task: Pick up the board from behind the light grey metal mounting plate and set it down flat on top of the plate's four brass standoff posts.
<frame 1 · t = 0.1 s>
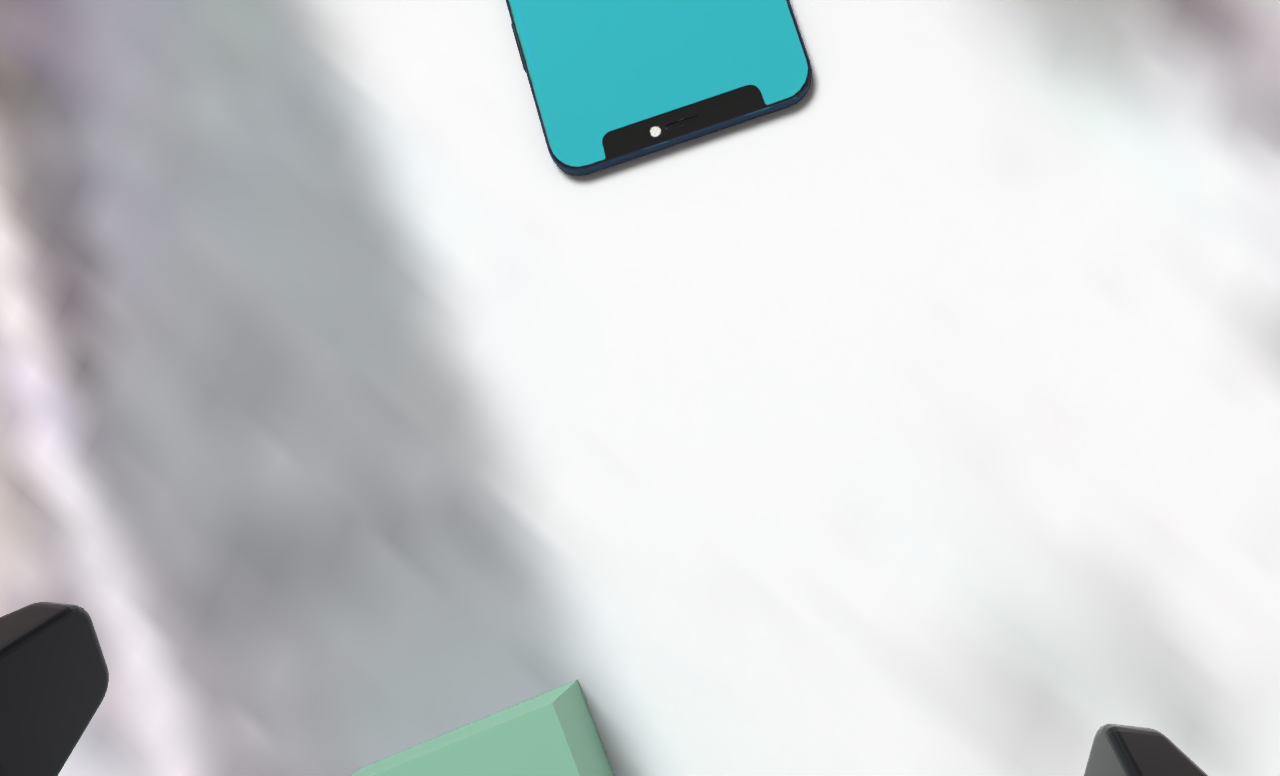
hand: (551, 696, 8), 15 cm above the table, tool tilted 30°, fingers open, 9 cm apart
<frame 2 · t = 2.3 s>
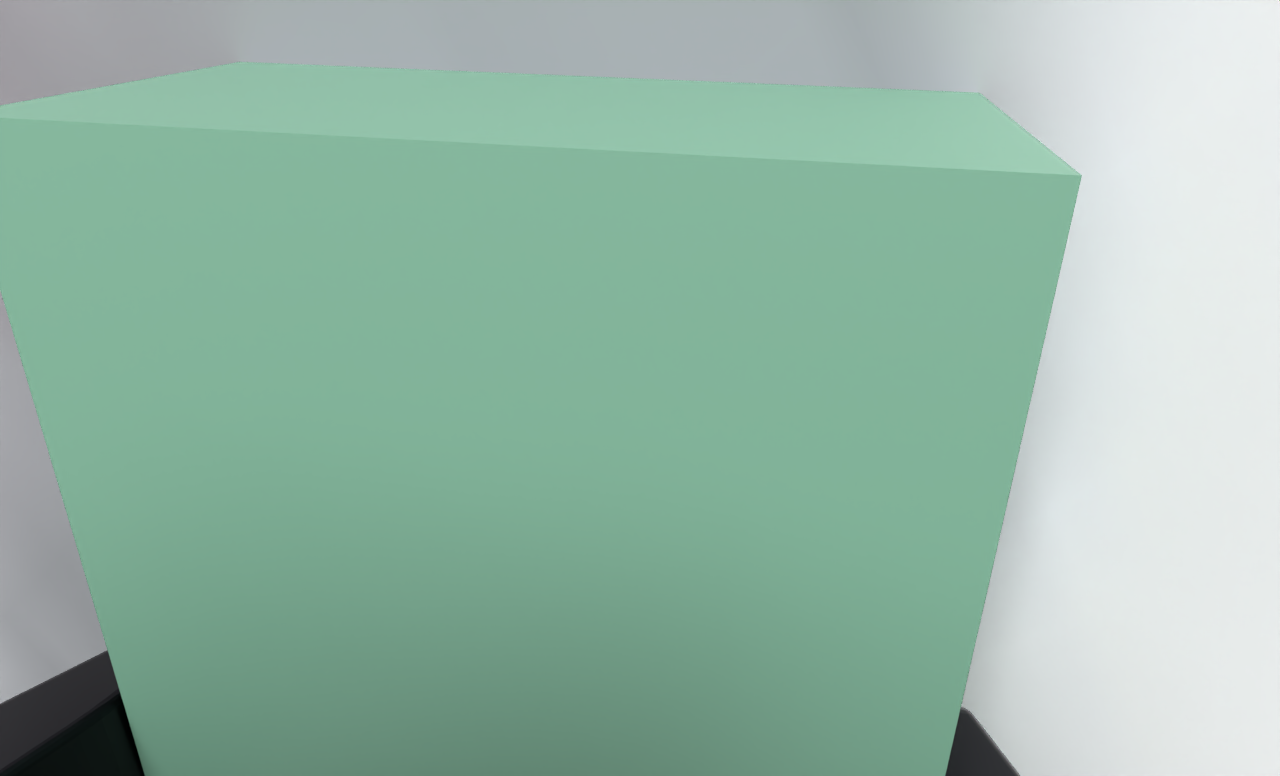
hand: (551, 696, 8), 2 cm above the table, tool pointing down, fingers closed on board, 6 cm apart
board: (591, 579, 9), on the table, touching gripper
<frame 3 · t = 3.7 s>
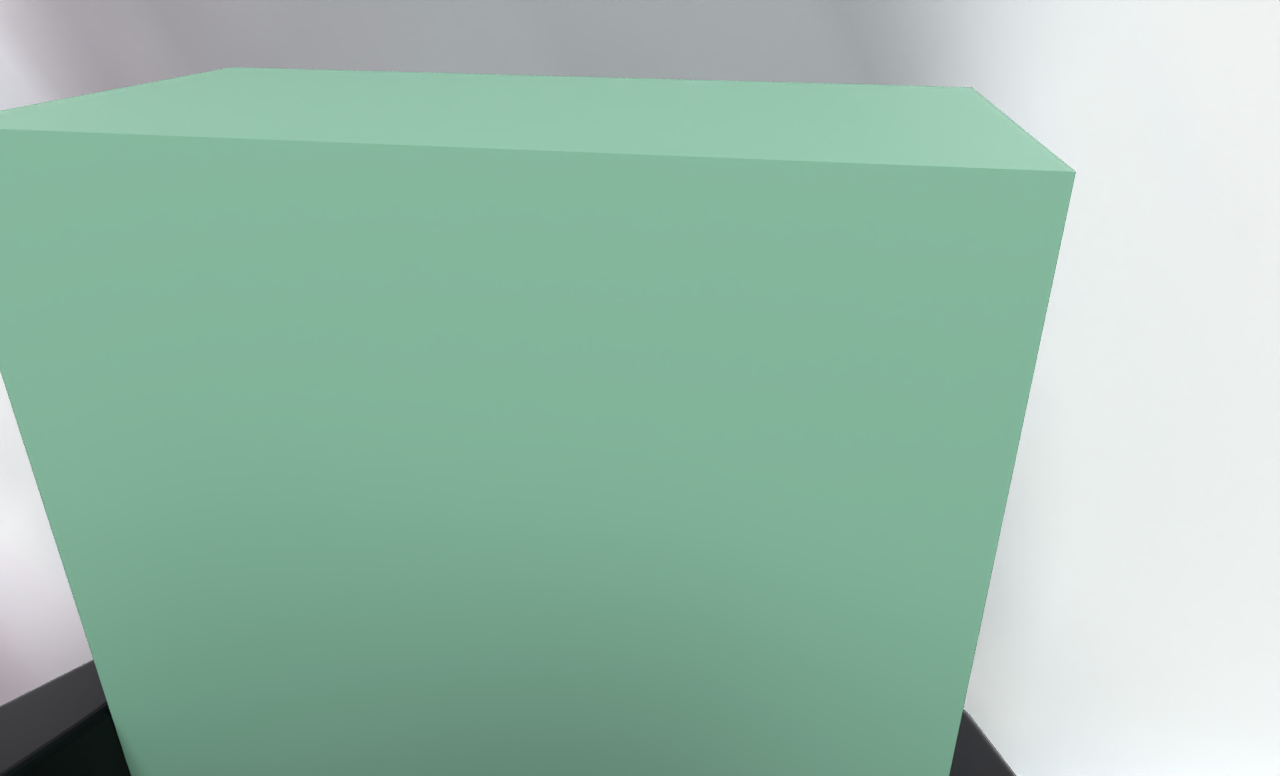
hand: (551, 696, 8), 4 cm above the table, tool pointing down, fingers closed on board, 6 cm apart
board: (589, 587, 9), point 3 cm above the table, touching gripper
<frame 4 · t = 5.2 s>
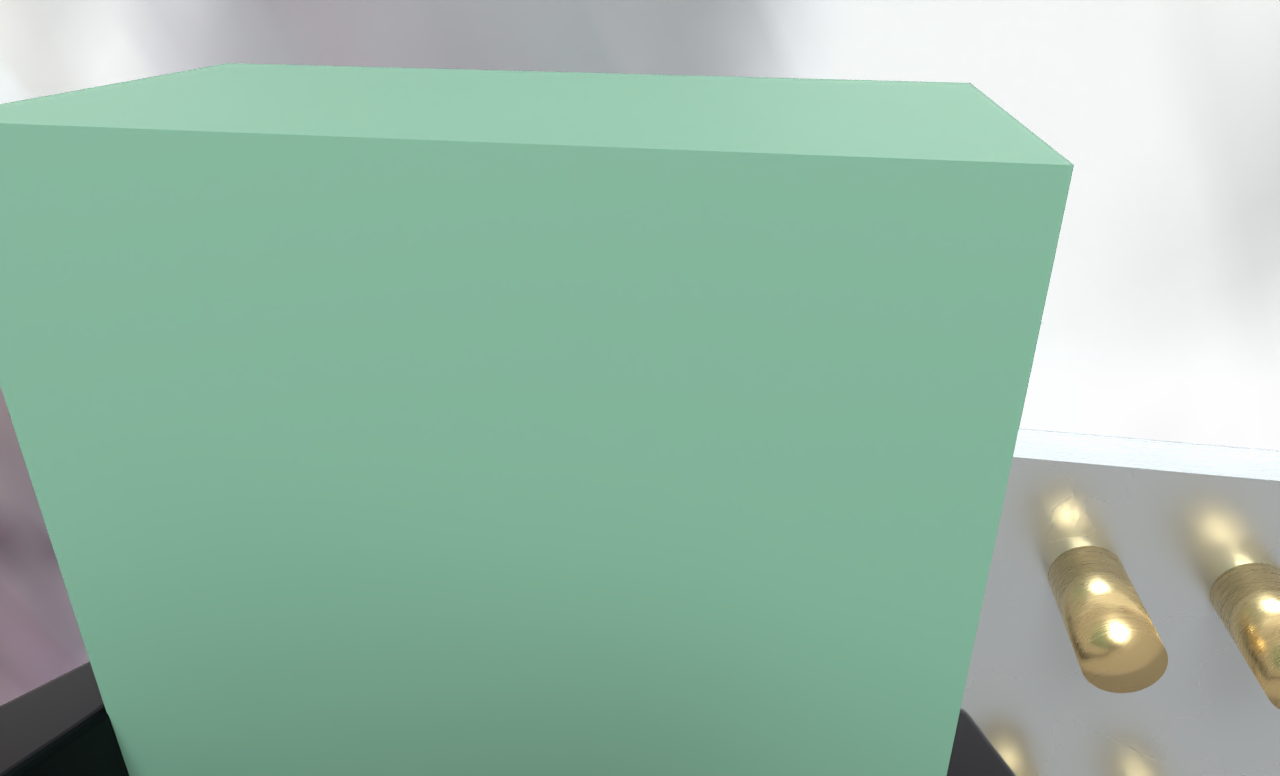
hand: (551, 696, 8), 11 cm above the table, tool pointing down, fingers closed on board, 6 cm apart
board: (587, 585, 9), point 10 cm above the table, touching gripper
chassis: (1108, 677, 20), on the table
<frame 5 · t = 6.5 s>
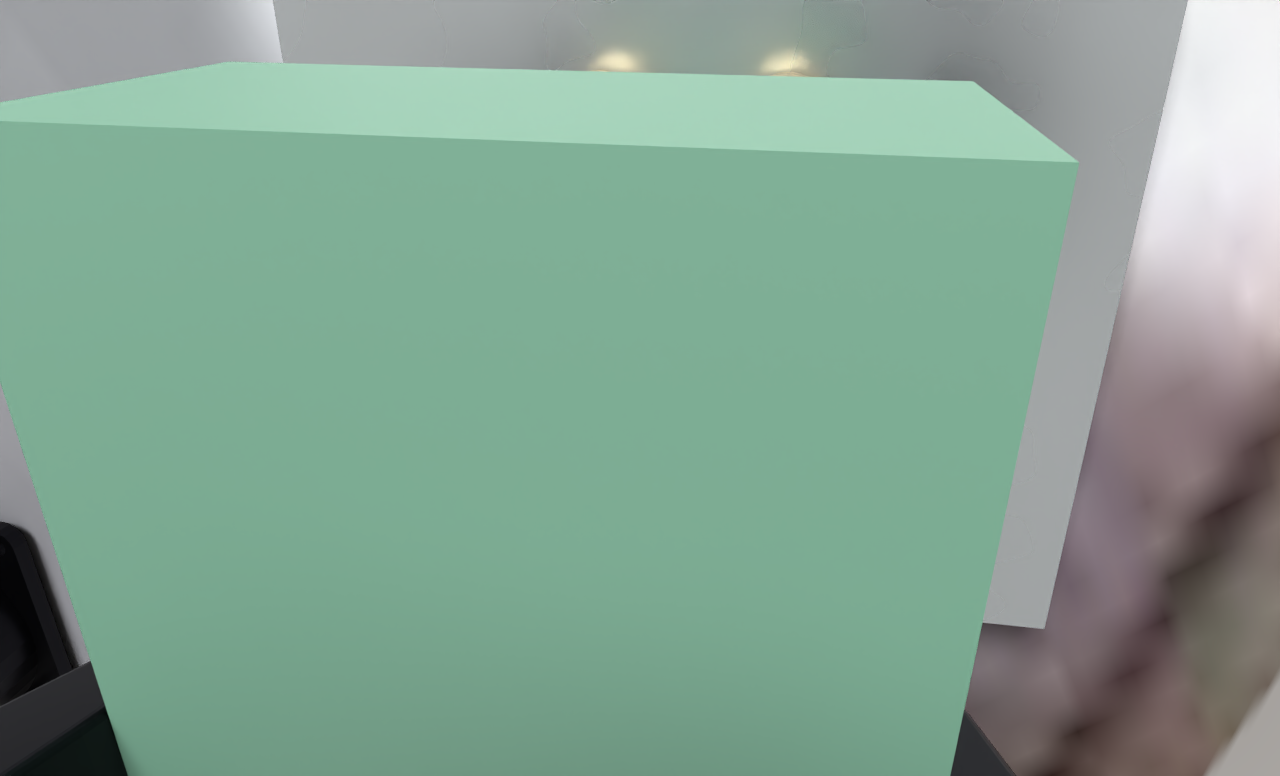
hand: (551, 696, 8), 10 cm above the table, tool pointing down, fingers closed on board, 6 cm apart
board: (588, 584, 9), point 9 cm above the table, touching gripper
chassis: (697, 296, 17), on the table
when the fingers open (6 cm above the table, at t = 7.7 s): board drops 1 cm, resting on chassis.
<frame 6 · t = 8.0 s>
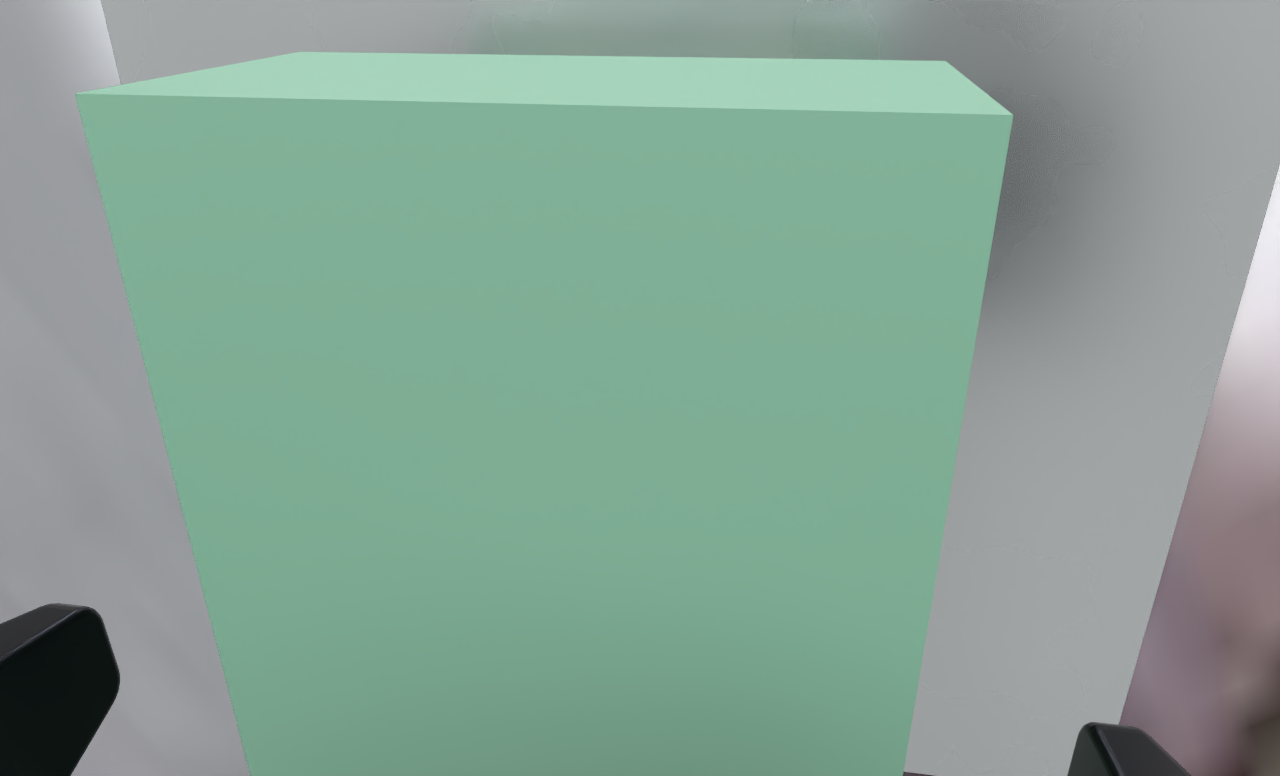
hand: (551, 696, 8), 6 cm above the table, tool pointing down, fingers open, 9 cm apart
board: (613, 517, 10), point 4 cm above the table, touching chassis
chassis: (663, 384, 14), on the table
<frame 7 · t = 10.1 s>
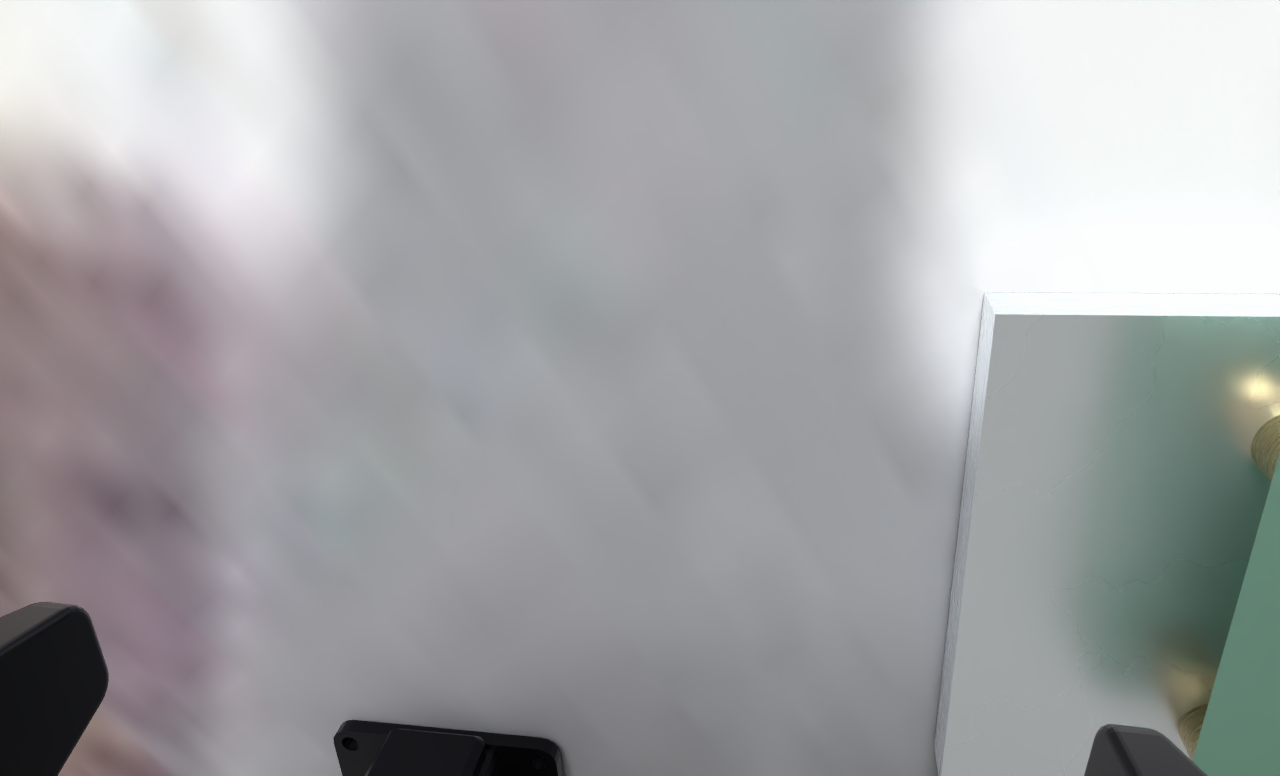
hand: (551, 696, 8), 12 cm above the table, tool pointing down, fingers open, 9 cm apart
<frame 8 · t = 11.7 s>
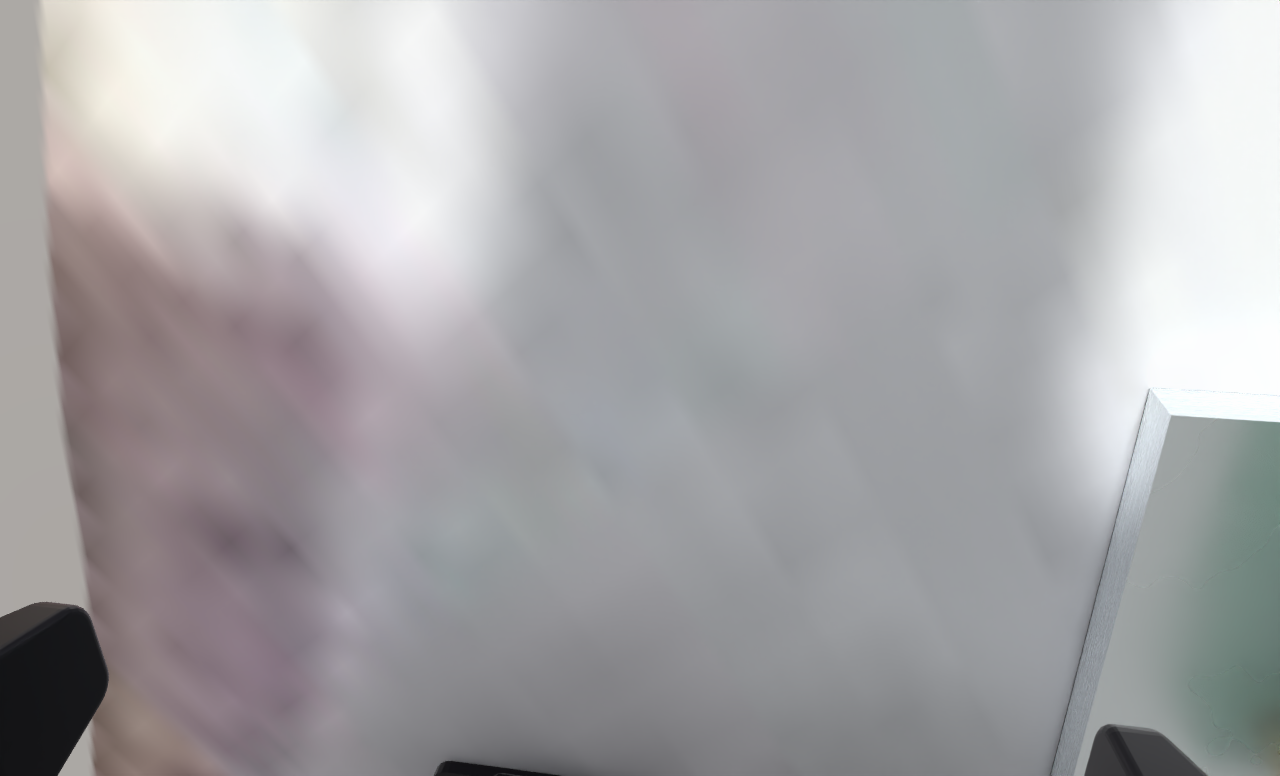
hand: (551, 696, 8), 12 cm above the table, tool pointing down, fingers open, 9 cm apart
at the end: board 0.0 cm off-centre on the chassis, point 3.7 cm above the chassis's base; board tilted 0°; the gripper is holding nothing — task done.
